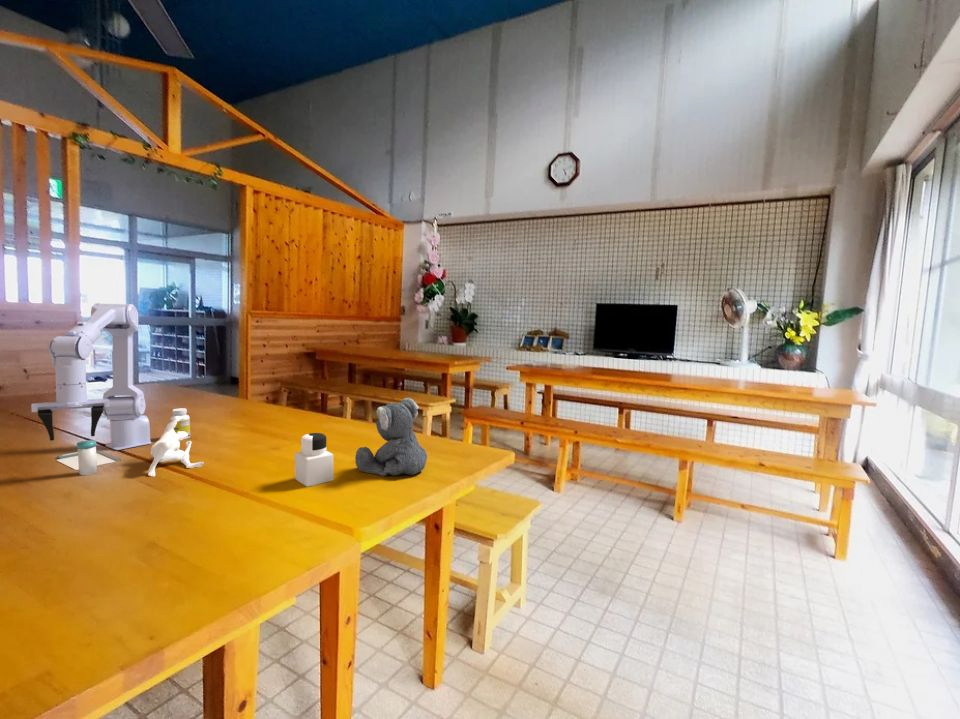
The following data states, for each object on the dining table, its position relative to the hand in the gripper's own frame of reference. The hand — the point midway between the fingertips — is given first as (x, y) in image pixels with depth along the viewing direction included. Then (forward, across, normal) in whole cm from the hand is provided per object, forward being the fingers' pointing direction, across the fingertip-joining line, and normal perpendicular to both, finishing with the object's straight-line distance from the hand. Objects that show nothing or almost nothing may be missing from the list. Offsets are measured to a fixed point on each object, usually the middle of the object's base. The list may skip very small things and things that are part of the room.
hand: (72, 437), depth 116 cm
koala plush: (+11, +68, -43) cm, 81 cm away
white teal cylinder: (+10, +3, +2) cm, 10 cm away
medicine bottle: (+11, +46, -38) cm, 61 cm away
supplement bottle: (+8, +27, +26) cm, 38 cm away
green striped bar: (+9, +1, +22) cm, 24 cm away
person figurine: (+10, +21, -2) cm, 23 cm away
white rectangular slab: (+9, +3, +14) cm, 17 cm away
